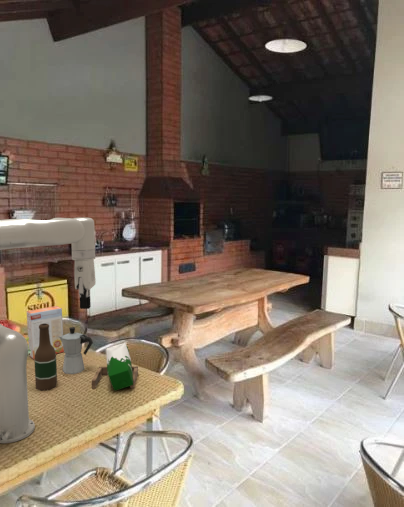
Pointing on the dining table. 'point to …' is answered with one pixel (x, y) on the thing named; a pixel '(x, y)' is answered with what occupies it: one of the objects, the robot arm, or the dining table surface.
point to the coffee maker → (74, 351)
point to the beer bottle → (45, 361)
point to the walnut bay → (103, 371)
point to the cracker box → (55, 327)
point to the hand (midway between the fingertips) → (85, 308)
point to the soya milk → (119, 366)
